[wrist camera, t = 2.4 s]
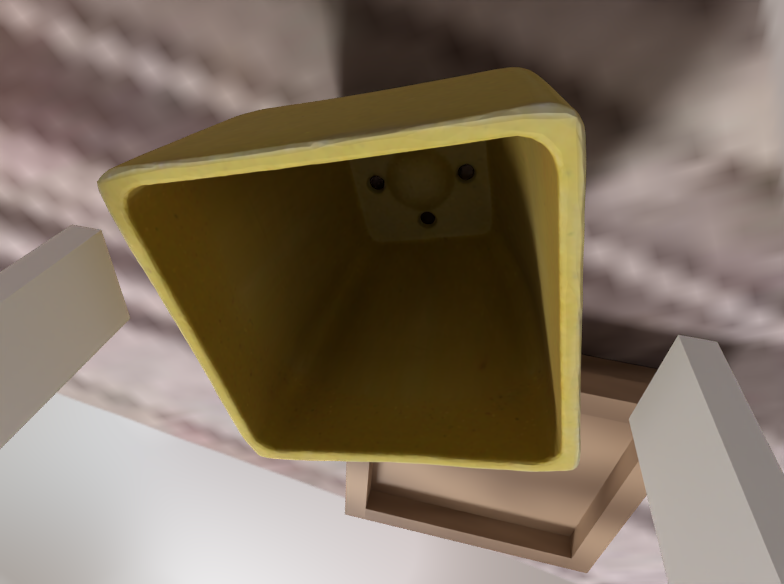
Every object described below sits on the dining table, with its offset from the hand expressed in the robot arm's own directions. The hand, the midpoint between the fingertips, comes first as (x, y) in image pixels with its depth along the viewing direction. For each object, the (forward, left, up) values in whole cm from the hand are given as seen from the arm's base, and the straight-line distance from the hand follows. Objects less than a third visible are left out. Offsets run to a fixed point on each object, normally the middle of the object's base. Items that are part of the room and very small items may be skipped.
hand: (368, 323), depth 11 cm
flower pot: (0, 0, -8) cm, 8 cm away
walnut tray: (+14, +5, -8) cm, 16 cm away
